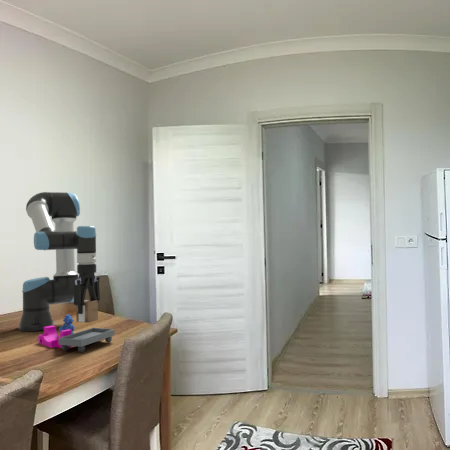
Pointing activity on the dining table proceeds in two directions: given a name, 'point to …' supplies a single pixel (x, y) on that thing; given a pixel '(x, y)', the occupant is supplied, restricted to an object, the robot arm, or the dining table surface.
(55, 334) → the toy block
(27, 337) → the dining table surface
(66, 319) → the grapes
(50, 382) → the dining table surface
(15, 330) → the dining table surface
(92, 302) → the walnut block
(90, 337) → the cart
